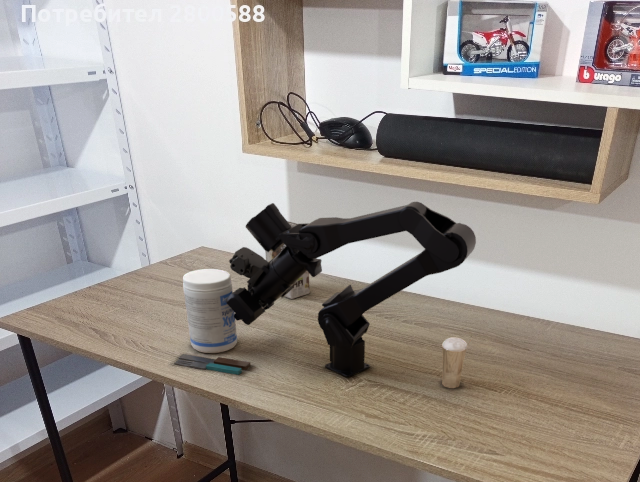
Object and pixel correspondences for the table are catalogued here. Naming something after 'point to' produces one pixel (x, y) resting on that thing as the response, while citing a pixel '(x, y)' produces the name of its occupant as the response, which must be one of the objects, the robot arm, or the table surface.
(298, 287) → the coffee box
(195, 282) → the supplement tub
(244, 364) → the knife
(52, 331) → the table surface
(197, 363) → the fork
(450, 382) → the milkshake
